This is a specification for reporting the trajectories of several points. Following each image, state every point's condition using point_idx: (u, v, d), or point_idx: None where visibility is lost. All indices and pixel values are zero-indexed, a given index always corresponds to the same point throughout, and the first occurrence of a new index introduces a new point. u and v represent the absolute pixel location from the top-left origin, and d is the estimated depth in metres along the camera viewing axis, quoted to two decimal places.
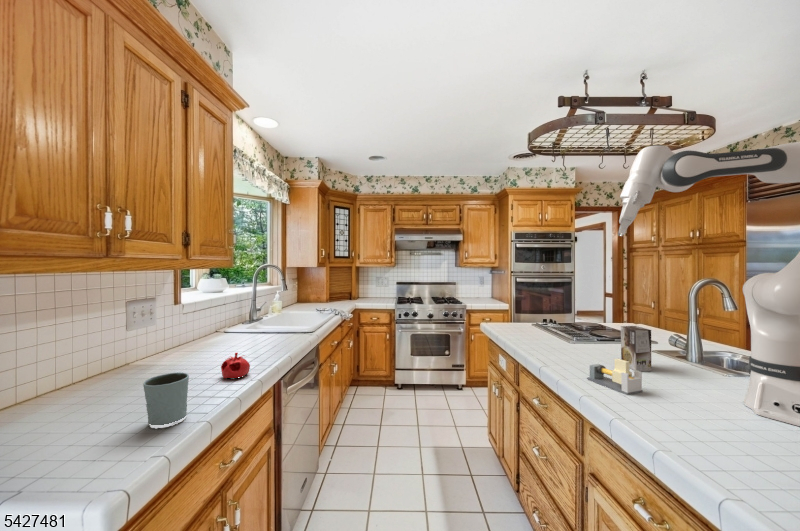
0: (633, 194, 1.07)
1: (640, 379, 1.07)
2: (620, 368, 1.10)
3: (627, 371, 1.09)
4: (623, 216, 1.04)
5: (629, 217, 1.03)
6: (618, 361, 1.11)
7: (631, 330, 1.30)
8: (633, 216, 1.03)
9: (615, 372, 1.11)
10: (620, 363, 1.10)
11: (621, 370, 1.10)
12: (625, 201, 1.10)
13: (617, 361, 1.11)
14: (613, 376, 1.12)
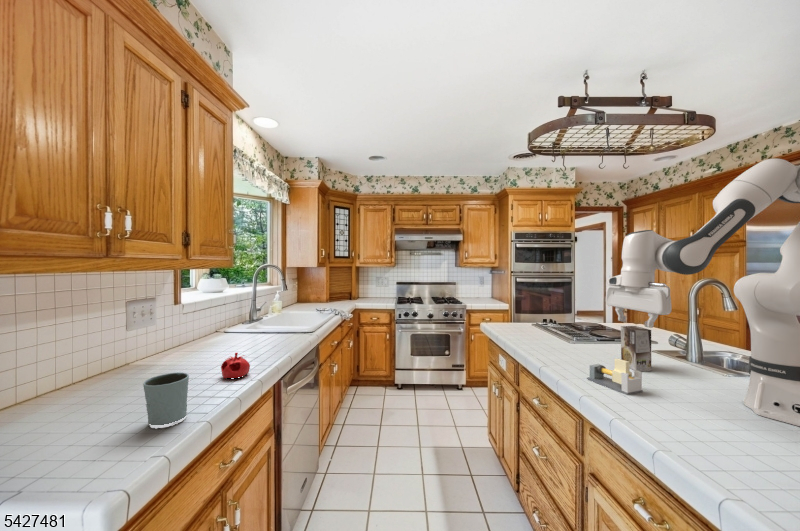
0: (647, 284, 1.01)
1: (640, 379, 1.07)
2: (620, 368, 1.10)
3: (627, 371, 1.09)
4: (661, 313, 0.96)
5: (667, 313, 0.96)
6: (618, 361, 1.11)
7: (631, 330, 1.30)
8: (670, 311, 0.96)
9: (615, 372, 1.11)
10: (620, 363, 1.10)
11: (621, 370, 1.10)
12: (636, 291, 1.03)
13: (617, 361, 1.11)
14: (613, 376, 1.12)
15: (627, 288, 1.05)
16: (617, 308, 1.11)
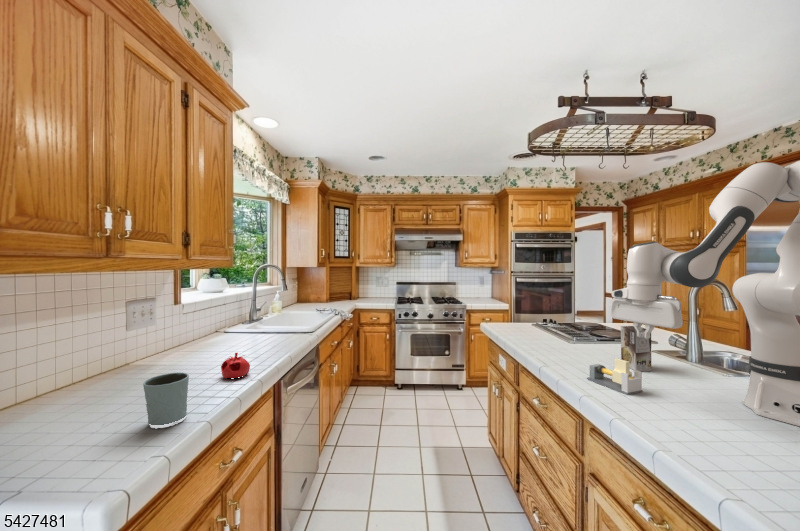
0: (655, 297, 0.99)
1: (640, 379, 1.07)
2: (620, 368, 1.10)
3: (627, 371, 1.09)
4: (674, 327, 0.94)
5: (678, 327, 0.94)
6: (618, 361, 1.11)
7: (631, 330, 1.30)
8: (681, 325, 0.95)
9: (615, 372, 1.11)
10: (620, 363, 1.10)
11: (621, 370, 1.10)
12: (644, 304, 1.01)
13: (617, 361, 1.11)
14: (613, 376, 1.12)
15: (635, 301, 1.03)
16: (635, 323, 1.05)
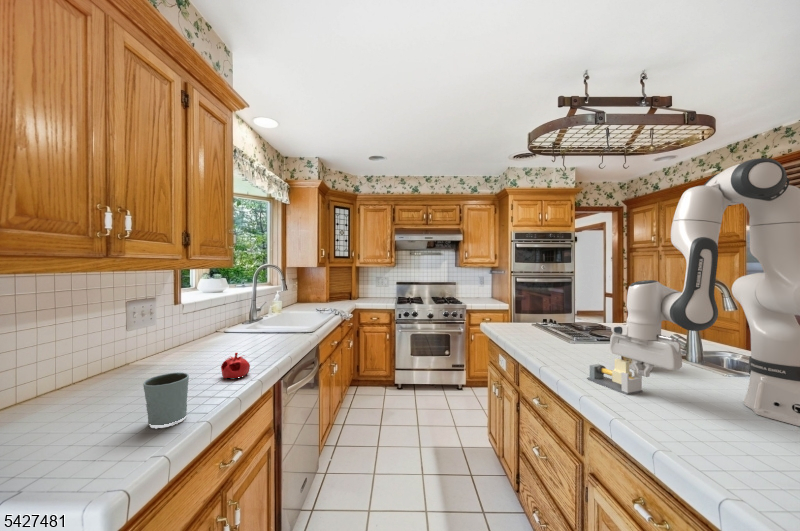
0: (655, 337, 0.99)
1: (640, 379, 1.07)
2: (620, 368, 1.10)
3: (627, 371, 1.09)
4: (673, 369, 0.94)
5: (678, 368, 0.95)
6: (618, 361, 1.11)
7: None
8: (681, 366, 0.95)
9: (615, 372, 1.11)
10: (620, 363, 1.10)
11: (621, 370, 1.10)
12: (644, 343, 1.01)
13: (617, 361, 1.11)
14: (613, 376, 1.12)
15: (634, 339, 1.03)
16: (635, 361, 1.05)
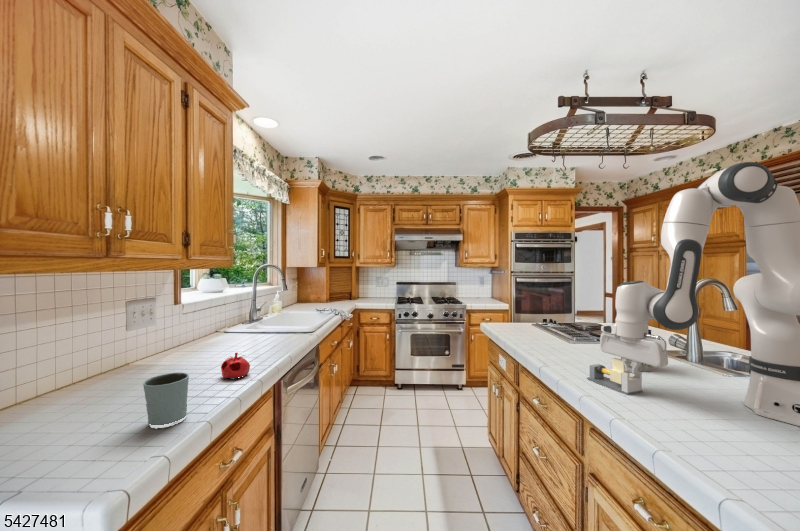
0: (642, 335, 1.03)
1: (640, 379, 1.07)
2: (617, 367, 1.11)
3: None
4: (659, 366, 0.98)
5: (664, 366, 0.98)
6: (616, 360, 1.12)
7: None
8: (667, 364, 0.98)
9: (613, 371, 1.12)
10: (618, 362, 1.11)
11: (619, 369, 1.11)
12: (632, 341, 1.05)
13: (615, 360, 1.12)
14: (611, 375, 1.12)
15: (623, 338, 1.07)
16: (624, 359, 1.09)
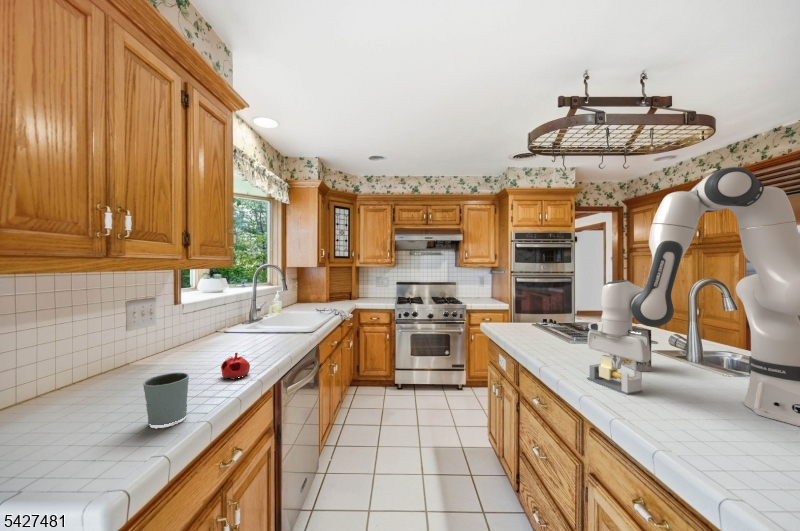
0: (626, 332, 1.08)
1: (640, 379, 1.07)
2: (606, 364, 1.15)
3: None
4: (642, 361, 1.03)
5: (647, 361, 1.03)
6: (604, 357, 1.16)
7: None
8: (649, 359, 1.03)
9: (601, 367, 1.16)
10: (606, 359, 1.15)
11: (607, 366, 1.15)
12: (617, 338, 1.09)
13: (603, 357, 1.16)
14: (600, 371, 1.16)
15: (608, 335, 1.12)
16: (611, 355, 1.13)
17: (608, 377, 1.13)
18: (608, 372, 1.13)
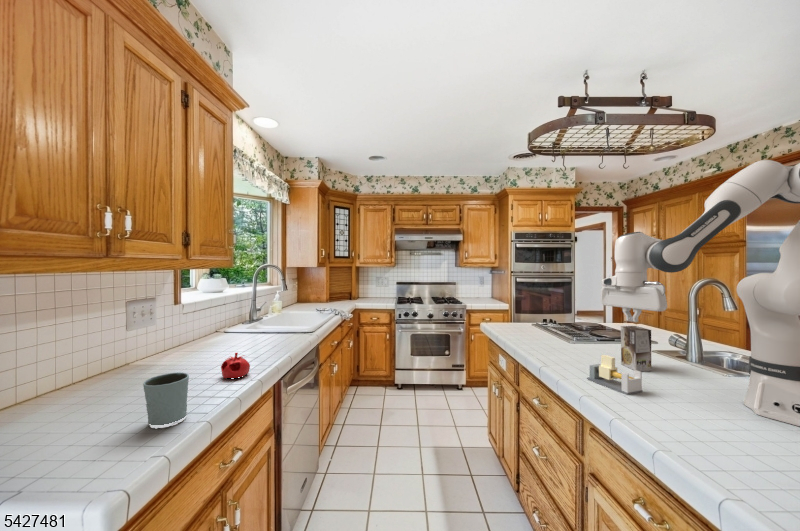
0: (642, 283, 1.07)
1: (640, 379, 1.07)
2: (606, 364, 1.15)
3: (613, 366, 1.14)
4: (659, 310, 1.01)
5: (663, 309, 1.02)
6: (604, 357, 1.16)
7: (631, 330, 1.30)
8: (666, 308, 1.02)
9: (601, 367, 1.16)
10: (606, 359, 1.15)
11: (607, 366, 1.15)
12: (632, 290, 1.08)
13: (603, 357, 1.16)
14: (600, 371, 1.16)
15: (623, 288, 1.10)
16: (624, 309, 1.12)
17: (608, 377, 1.13)
18: (608, 372, 1.13)
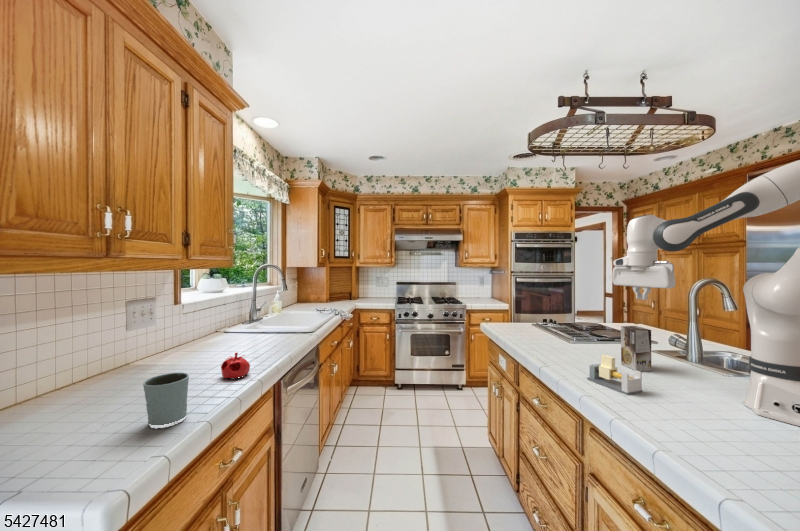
0: (652, 262, 1.14)
1: (640, 379, 1.07)
2: (606, 364, 1.15)
3: (613, 366, 1.14)
4: (668, 287, 1.08)
5: (672, 287, 1.09)
6: (604, 357, 1.16)
7: (631, 330, 1.30)
8: (674, 285, 1.09)
9: (601, 367, 1.16)
10: (606, 359, 1.15)
11: (607, 366, 1.15)
12: (642, 269, 1.15)
13: (603, 357, 1.16)
14: (600, 371, 1.16)
15: (634, 267, 1.17)
16: (634, 287, 1.19)
17: (608, 377, 1.13)
18: (608, 372, 1.13)
